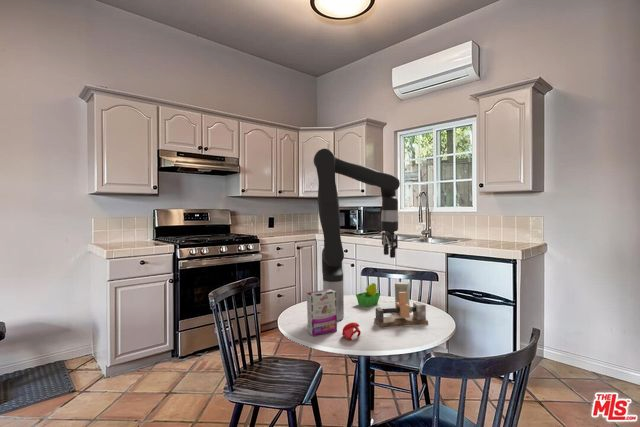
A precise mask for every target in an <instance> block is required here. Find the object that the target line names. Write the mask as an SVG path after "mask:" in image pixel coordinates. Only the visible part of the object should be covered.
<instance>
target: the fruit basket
mask: <svg viewBox="0 0 640 427" xmlns="http://www.w3.org/2000/svg"><path fill="white" fill-rule="evenodd" d="M380 296H381V293H379V292H378V289H377V284H376V283H374V282H372V283H371V284H369V285H368V286H366V288H365V292H361V293H356V294H355V297H356V300H357V303H358V305H359V306H361V307H369V306H373V305H377V304H378V303H379V300H380Z"/></svg>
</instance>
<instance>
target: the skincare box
mask: <svg viewBox="0 0 640 427" xmlns="http://www.w3.org/2000/svg"><path fill="white" fill-rule="evenodd" d="M399 292H406V302H407V304H408V305H410V282H404V281H396V282H395V283H394V302H395V303H394V304H395V307H394V308H396V302H399Z"/></svg>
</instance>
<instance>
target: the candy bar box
mask: <svg viewBox="0 0 640 427" xmlns="http://www.w3.org/2000/svg"><path fill="white" fill-rule="evenodd" d="M306 310H307V333H308V334H309V335H310V336H312V337H316V336H321V335H322V336H323V335H326V334H329V333H330V334H331V333H335V332H337V331H338V321H337V313H336V291H334V290H332V289H328V290H323V289H322V290H317V291H310V292H306Z"/></svg>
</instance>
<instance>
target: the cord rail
mask: <svg viewBox="0 0 640 427" xmlns="http://www.w3.org/2000/svg"><path fill="white" fill-rule="evenodd" d="M426 312H427V305H426V304H425V303H423V302H422V301H416V302H412V306H411V305H410V318H400V317H399V316H397V315H396V316H384V315H385V314H396V313H400V308H395V307H389V308H382V307H375V317H374V319H373V321H374V323H375V324H376V325H377V326H378V327H379V328H380V329H382V328H394V327H395V328H396V327H408V326H421V325H428V324H429V320H428V319H427V313H426ZM411 313H412V314H411Z"/></svg>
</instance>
